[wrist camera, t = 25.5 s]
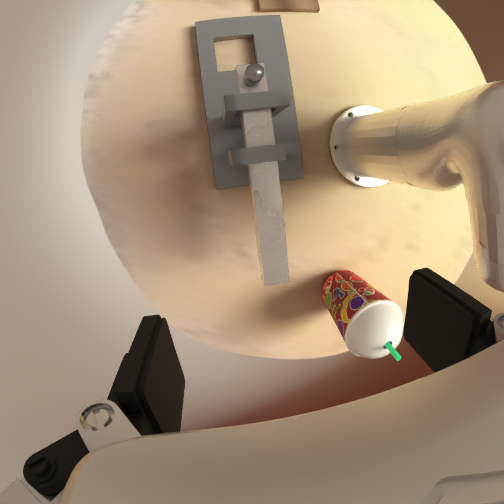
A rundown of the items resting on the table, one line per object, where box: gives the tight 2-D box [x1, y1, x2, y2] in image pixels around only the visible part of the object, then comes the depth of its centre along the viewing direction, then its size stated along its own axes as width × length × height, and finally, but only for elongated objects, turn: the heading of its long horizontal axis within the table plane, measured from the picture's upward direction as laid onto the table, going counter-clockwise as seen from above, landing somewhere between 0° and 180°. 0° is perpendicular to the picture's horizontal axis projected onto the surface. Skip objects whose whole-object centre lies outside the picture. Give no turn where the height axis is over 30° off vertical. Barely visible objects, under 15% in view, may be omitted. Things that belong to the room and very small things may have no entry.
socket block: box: [195, 15, 304, 190], centre depth 30 cm, size 12×25×15 cm, turn 7°
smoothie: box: [322, 270, 403, 361], centre depth 38 cm, size 8×8×20 cm
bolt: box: [235, 63, 290, 286], centre depth 28 cm, size 3×22×5 cm, turn 7°
